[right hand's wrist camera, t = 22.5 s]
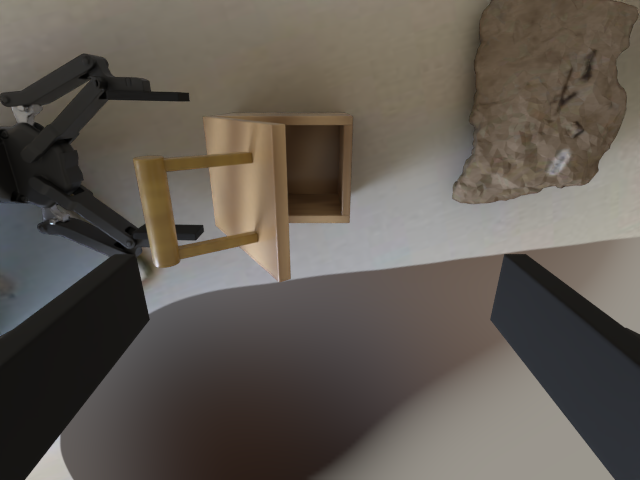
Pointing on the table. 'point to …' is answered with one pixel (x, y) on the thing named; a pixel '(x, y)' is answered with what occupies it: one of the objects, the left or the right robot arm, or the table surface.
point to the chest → (314, 163)
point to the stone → (544, 95)
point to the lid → (226, 194)
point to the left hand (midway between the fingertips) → (193, 169)
